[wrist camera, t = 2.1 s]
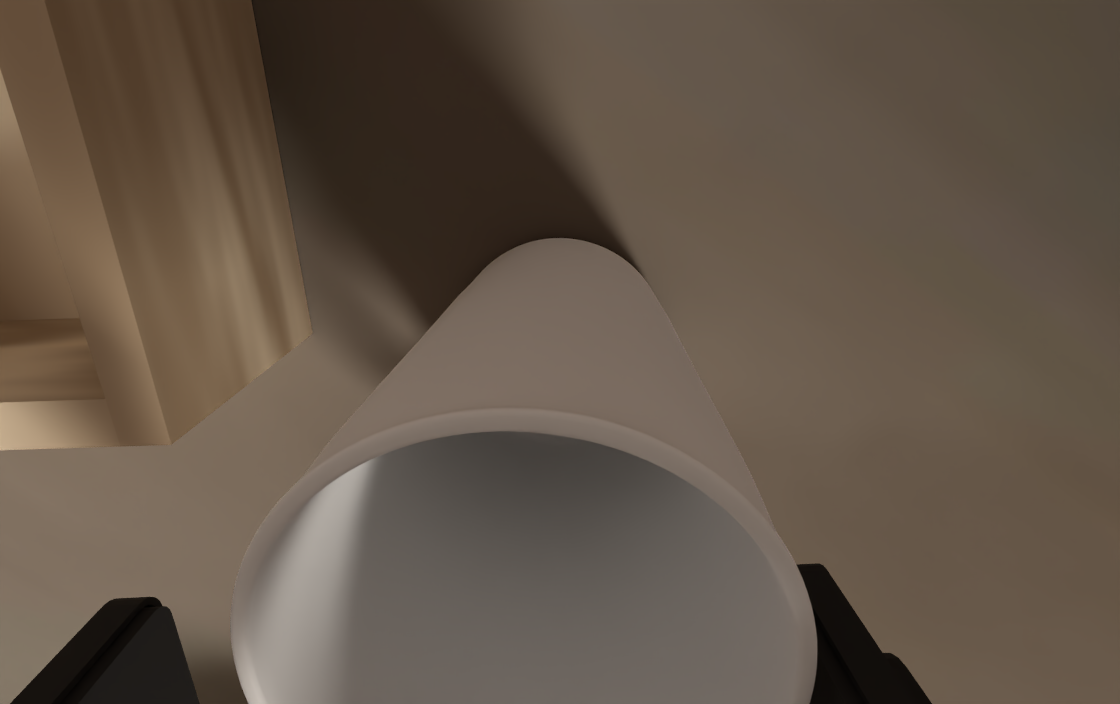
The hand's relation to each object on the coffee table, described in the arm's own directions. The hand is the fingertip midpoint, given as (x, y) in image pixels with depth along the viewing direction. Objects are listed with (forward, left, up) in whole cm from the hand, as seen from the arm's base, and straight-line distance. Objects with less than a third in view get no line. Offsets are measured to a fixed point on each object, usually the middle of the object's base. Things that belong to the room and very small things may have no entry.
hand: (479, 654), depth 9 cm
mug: (-1, 0, -10) cm, 10 cm away
